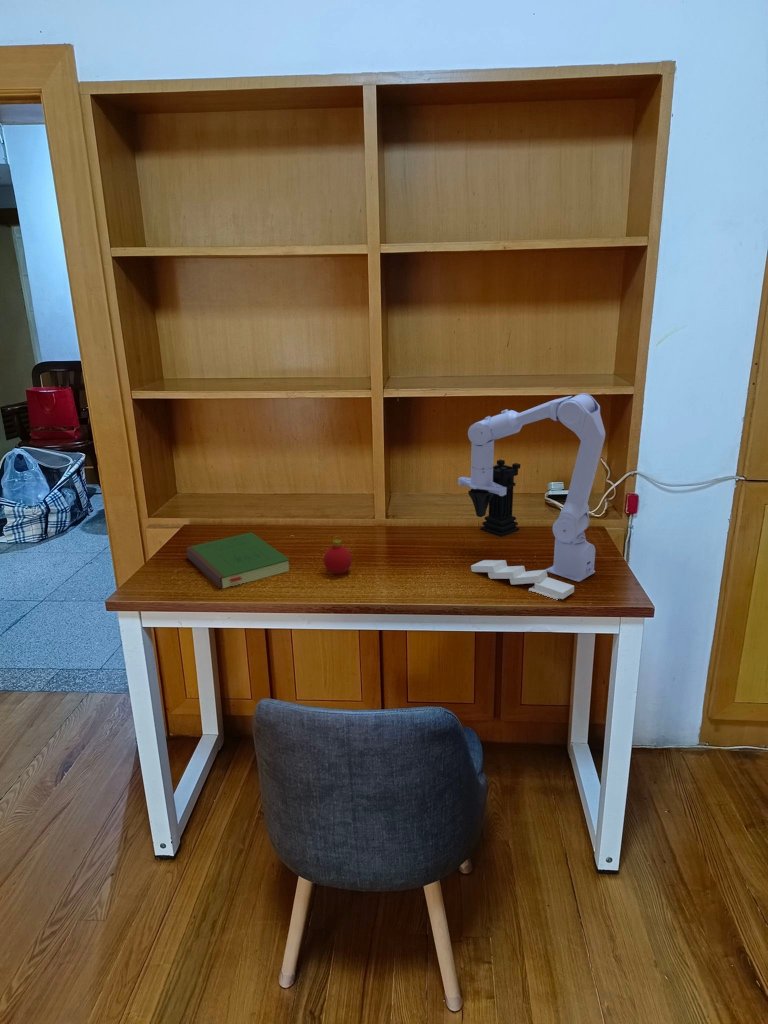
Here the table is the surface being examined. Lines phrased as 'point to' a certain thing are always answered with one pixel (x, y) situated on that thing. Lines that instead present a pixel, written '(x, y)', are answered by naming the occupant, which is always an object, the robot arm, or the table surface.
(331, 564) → the christmas ornament
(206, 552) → the hardcover book
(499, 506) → the chess piece
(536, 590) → the domino
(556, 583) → the domino
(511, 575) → the domino
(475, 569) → the domino
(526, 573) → the domino
